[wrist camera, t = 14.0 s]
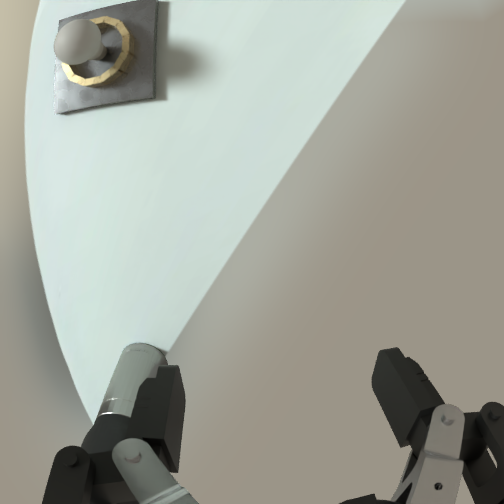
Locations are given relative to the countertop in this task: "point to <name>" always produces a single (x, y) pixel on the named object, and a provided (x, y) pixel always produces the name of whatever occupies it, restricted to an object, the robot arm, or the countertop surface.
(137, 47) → the lamp socket
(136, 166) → the countertop surface
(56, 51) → the lightbulb
